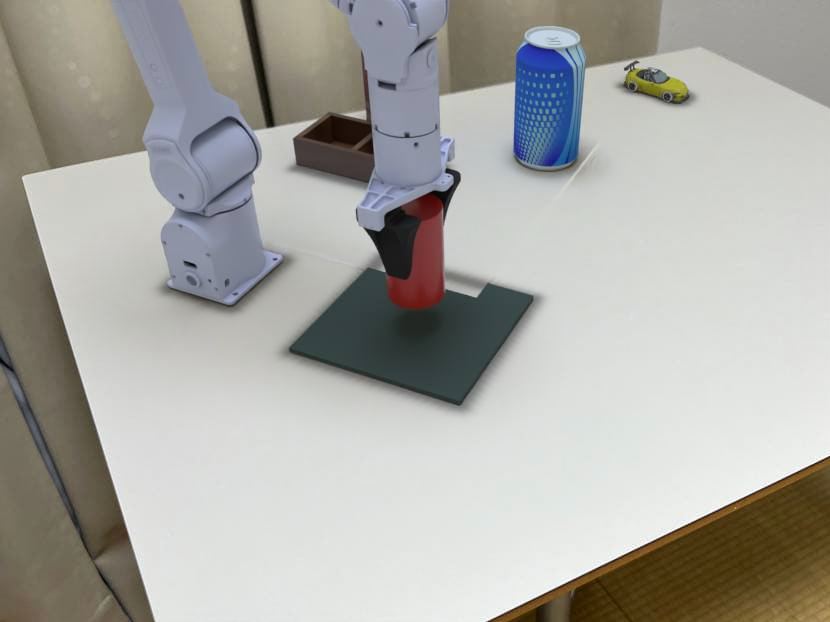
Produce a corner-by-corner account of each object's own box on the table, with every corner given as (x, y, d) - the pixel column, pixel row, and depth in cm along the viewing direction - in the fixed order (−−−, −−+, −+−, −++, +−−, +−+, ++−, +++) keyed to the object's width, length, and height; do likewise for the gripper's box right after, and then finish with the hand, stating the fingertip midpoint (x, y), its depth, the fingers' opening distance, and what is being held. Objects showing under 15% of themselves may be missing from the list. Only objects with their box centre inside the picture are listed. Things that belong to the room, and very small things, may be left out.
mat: (459, 405, 81) (459, 401, 80) (289, 351, 85) (288, 347, 85) (533, 299, 93) (533, 295, 93) (381, 257, 97) (381, 253, 97)
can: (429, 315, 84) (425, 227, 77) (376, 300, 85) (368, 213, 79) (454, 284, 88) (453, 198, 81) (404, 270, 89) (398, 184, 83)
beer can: (501, 165, 114) (503, 39, 103) (531, 139, 120) (537, 18, 109) (559, 182, 112) (568, 55, 101) (588, 156, 117) (599, 33, 106)
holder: (411, 198, 107) (409, 167, 104) (297, 168, 111) (292, 138, 108) (442, 168, 113) (441, 137, 110) (332, 141, 117) (329, 111, 114)
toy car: (678, 106, 130) (681, 86, 128) (618, 88, 134) (621, 68, 132) (693, 94, 133) (696, 75, 131) (634, 77, 137) (637, 57, 135)
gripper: (407, 170, 69) (415, 311, 78) (484, 99, 79) (483, 232, 88) (328, 150, 70) (345, 291, 80) (413, 83, 80) (420, 215, 90)
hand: (413, 259), depth 84 cm, fingers closed on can, 5 cm apart
